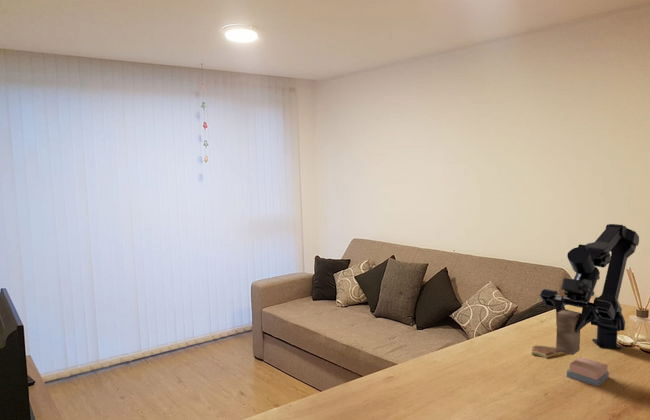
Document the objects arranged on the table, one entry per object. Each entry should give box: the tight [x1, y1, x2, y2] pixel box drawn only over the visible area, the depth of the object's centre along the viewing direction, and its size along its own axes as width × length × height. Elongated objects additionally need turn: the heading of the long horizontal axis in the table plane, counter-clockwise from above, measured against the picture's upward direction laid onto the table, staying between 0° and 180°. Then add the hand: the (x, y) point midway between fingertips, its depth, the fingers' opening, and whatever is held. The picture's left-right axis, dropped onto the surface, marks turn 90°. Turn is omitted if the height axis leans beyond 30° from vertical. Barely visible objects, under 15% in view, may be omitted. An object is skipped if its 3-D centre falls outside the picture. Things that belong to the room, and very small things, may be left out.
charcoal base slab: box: [566, 368, 610, 387], centre depth 131 cm, size 8×8×2 cm
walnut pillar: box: [555, 308, 582, 356], centre depth 132 cm, size 4×4×11 cm
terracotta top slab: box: [569, 356, 609, 380], centre depth 131 cm, size 7×7×2 cm
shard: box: [531, 344, 567, 359], centre depth 147 cm, size 11×8×2 cm
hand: (566, 329), depth 131 cm, fingers closed on walnut pillar, 4 cm apart
